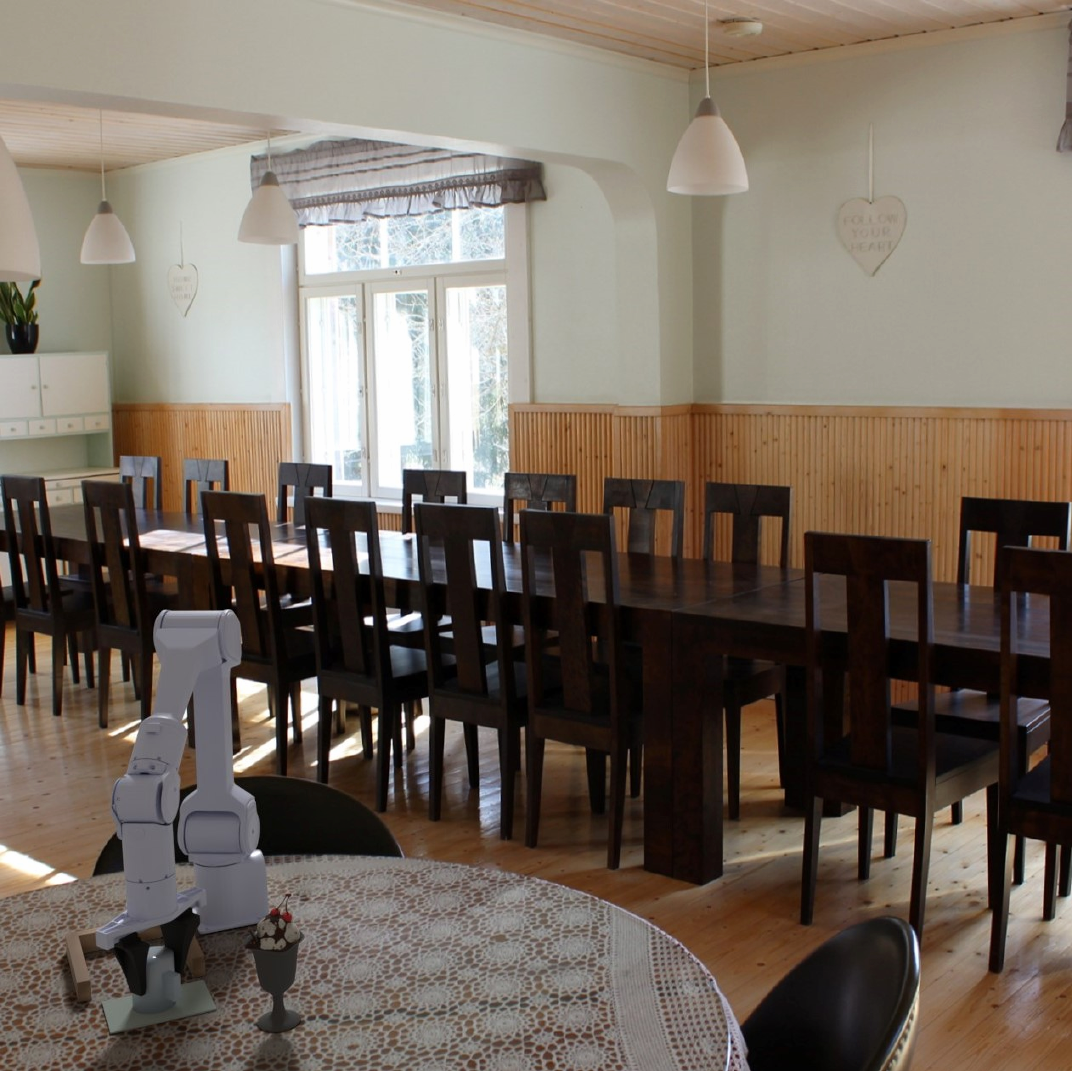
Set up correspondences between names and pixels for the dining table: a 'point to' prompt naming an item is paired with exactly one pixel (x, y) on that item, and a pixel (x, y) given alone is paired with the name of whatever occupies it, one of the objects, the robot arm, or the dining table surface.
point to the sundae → (276, 964)
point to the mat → (190, 1004)
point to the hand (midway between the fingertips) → (157, 983)
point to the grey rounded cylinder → (159, 983)
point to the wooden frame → (87, 943)
